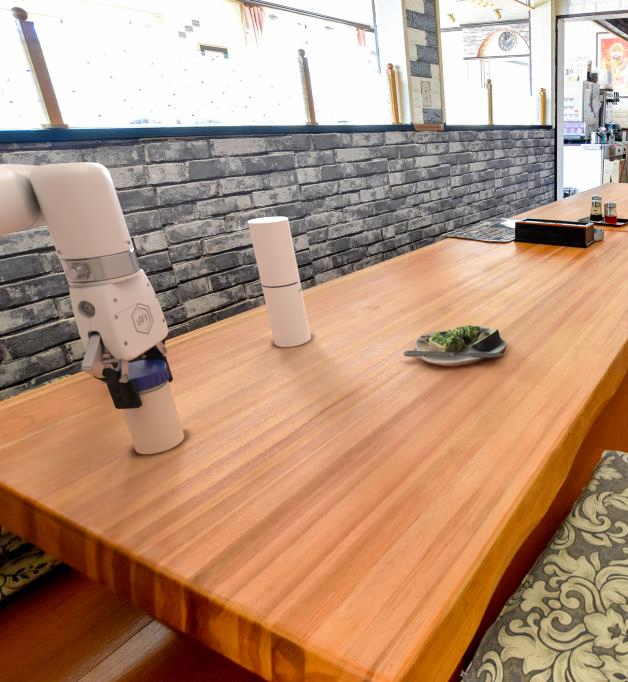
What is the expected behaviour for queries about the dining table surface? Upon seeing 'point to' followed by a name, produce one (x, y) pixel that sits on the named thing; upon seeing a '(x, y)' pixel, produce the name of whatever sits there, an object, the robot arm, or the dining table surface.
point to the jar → (154, 421)
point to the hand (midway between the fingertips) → (145, 393)
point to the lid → (148, 373)
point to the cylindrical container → (280, 280)
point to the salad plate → (459, 346)
